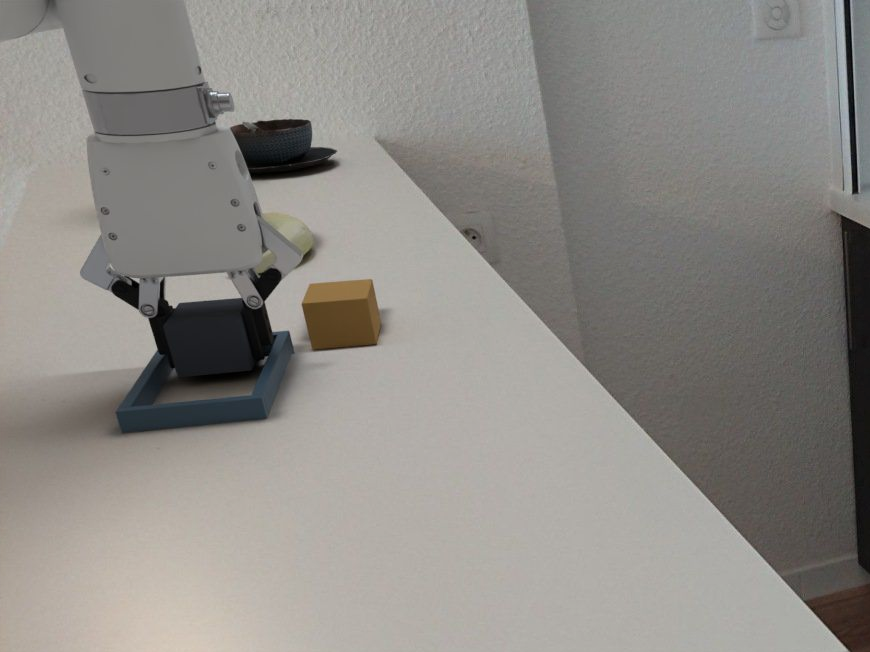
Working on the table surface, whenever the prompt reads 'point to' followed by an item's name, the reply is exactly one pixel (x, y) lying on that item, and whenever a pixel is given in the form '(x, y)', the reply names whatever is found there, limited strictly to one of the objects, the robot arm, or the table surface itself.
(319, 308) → the orange block
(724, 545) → the table surface
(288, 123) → the soup bowl
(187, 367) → the dark gray block
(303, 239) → the fruit
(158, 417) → the frame
